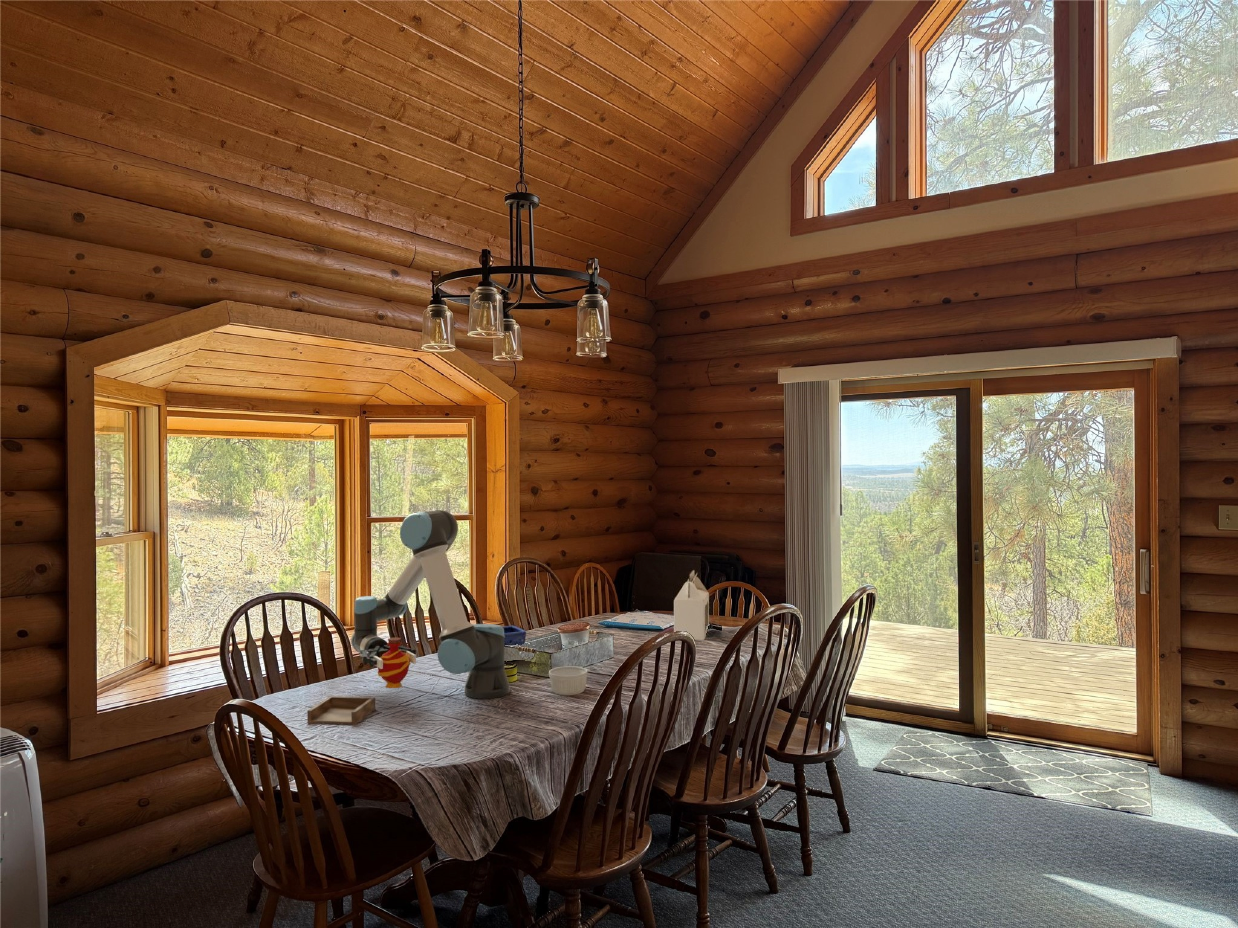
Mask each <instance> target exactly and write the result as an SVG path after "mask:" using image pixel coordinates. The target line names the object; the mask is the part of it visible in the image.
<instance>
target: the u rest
mask: <svg viewBox="0 0 1238 928" xmlns="http://www.w3.org/2000/svg"><path fill="white" fill-rule="evenodd" d="M372 711H373V712H374V711H376V697H371V696H369V697H368V696H367V697H366V696H339V695H338V696H337V695H329V696H328V697H326V698H325V699H323V700H322V701H320V702H318V703H317V704H315V705H314V706H313V707H310V709H309V708H308V709H307V716H306V718H307V720H306V721H307V724H318V723H321V724H323V725H324V724H325V725H327V724H328V725H349V726H350V725H352V726H353V725H354V726H355V725H357V724H358V723H360V722H361V721H362V720H364V719H365V718H366V717H368V716H369V715H370V714H372V713H373V712H372ZM368 714H369V715H368ZM321 724H320V725H321Z"/></svg>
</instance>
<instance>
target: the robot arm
mask: <svg viewBox="0 0 1238 928" xmlns="http://www.w3.org/2000/svg"><path fill="white" fill-rule="evenodd" d="M458 532H459V524H458V522H457V519H456V518H455V516H454V515H453V514H452V513H450V512H449V511H447V510H442V509H438V510H427V511H418V512H415V513H410V514H409V515H407V516H406V517H405V518H404V519H403V521H402V524H401V525H400V529H399V537H400V540H401V542H402V545H404V547H406V548H407V549H409V550H411V552H412V554H413V555H412V558H411V559H410V560H409V562H408V563H407V564H406V566H405V568H403V570H402V572H401V573H400V575H399V576H398V578H397V579H396V580H395V582H394V584H393V585H392V586H391V587H390V589H389V591H387V593H386V594H385V595H384V597H383V598H380V599H378V598H377V597H376V596H372V595H368V596H367V595H364V596H358V597H357V598H355V600H354V608H353V612H354V614H353V616H354V619H353V622H354V626H353V627H354V631H353V634H352V636H351V638H350V644H351V646H352V648H353V649H354V651H355V652H356V653H359V659H361V660H362V661H361V662H362V665H363V666H366V665H367V664H368V667H370V668H372V667H374V666H375V667H377V669H378V668H380V669H383V660H382V659H380V657H382V655H383V654H385V653H386V652H388V651H389V650H390V647H389V646H387V644H388V640H387V641H386V640H385V639H384V638H382V637H380V636H378V623H379V622H383V621H385V620H386V621H387V620H389V619H391V620H392V619H395V618H399V616H402V615H404V614H405V613H406V611H407V609H408V608H407V607H408V601H409V600H410V598H411V597H412V595H413V594H414V593H415V591H416V590H417V588H418V587H419V586H420V585H421V583H422V582H423V580H424V579H425V580H426V584H427V587H428V590H429V592H430V596H431V599H432V602H433V607H434V609H435V611H436V616H437V618H438V622H439V624H440V628H441V632H440V634H439V636H438V637H439V642H440V644H439V646H438V650H437V653H436V655H437V659H438V662H439V664H440V666H441V668H442V669H444V670H445V671H446V672H448V673H450V674H452V675H461V674H465V673H468V675H467V678H466V681H465V684H464V695H465V696H466V697H468V698H473V699H480V700H484V699H496V698H500V697H505V696H507V695H508V694H509V693H510V691H511V690H510V689H511V688H510V687H511V686H510V683H509V680H508V676H507V673H506V670H505V662H504V638H505V636H504V629H503V627H504V626H501V625H500V624H499V625H498V624H489V623H477V624H476V623H475V624H473V623H472V622H469V621H468V618H467V616H466V611H465V608H464V606H463V603H462V600H461V596H460V593H459V589H458V587H457V585H456V584H457V583H456V581H455V578H454V574H453V572H452V571H453V570H452V567H451V565H450V562H449V558H448V556H447V555H448V554H447V552H448V551H449V549H450V548H451V546H452V545H453V544H454V542H455V541H456V539H457V536H458ZM399 649H400V650H401V651H402V652H403V653H406V654H407V655H408V657H409V659H410V664H412V665H415V664H417V650H416V648H411V647H407V646H403V645H400V646H399Z"/></svg>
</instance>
